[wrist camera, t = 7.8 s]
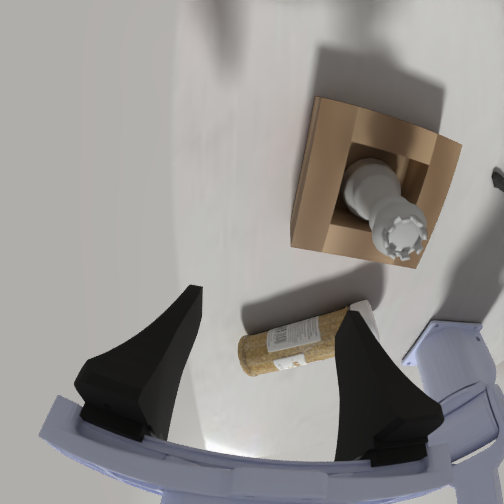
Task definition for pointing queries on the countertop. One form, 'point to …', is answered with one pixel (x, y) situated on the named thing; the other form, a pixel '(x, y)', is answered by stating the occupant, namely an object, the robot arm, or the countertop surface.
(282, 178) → the countertop surface
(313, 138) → the bore block
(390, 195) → the rook chess piece
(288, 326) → the sprinkles bottle
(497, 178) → the chef's knife
